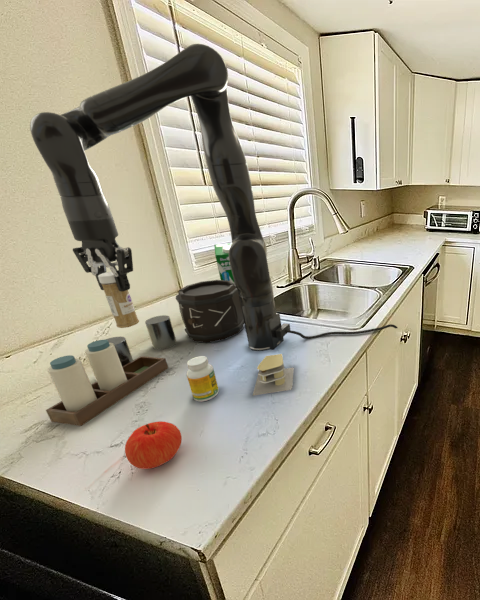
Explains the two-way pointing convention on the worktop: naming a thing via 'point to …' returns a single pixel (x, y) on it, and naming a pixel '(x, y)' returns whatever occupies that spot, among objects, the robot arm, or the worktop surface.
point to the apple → (153, 444)
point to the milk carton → (224, 261)
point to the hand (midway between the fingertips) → (115, 289)
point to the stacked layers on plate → (273, 376)
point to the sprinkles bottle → (118, 301)
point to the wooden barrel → (210, 310)
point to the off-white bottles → (75, 380)
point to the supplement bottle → (202, 379)
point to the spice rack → (136, 377)
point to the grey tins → (159, 336)
